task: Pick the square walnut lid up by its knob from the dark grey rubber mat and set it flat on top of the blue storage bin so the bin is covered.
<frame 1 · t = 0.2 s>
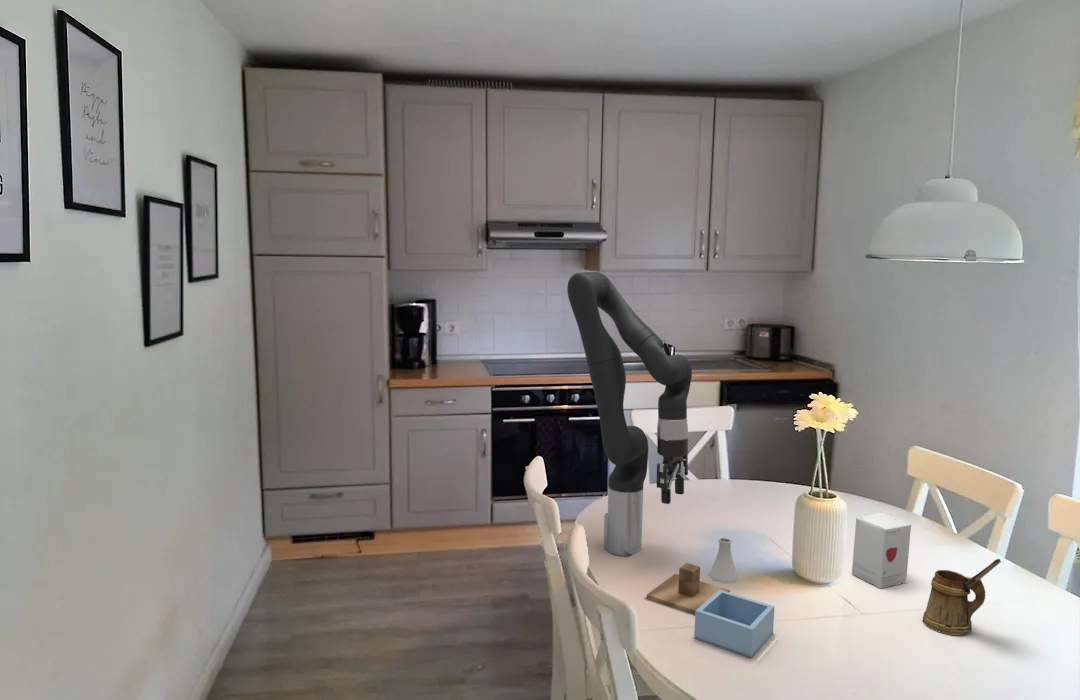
hand: (672, 498, 182), 17 cm above the table, tool pointing down, fingers open, 8 cm apart
supplement box: (878, 579, 177), on the table
walnut lid: (688, 596, 166), point 1 cm above the table, touching rubber mat
rubber mat: (688, 598, 166), on the table
flask: (723, 579, 176), on the table
wooden mug: (957, 630, 153), on the table
blue storage bin: (733, 638, 149), on the table
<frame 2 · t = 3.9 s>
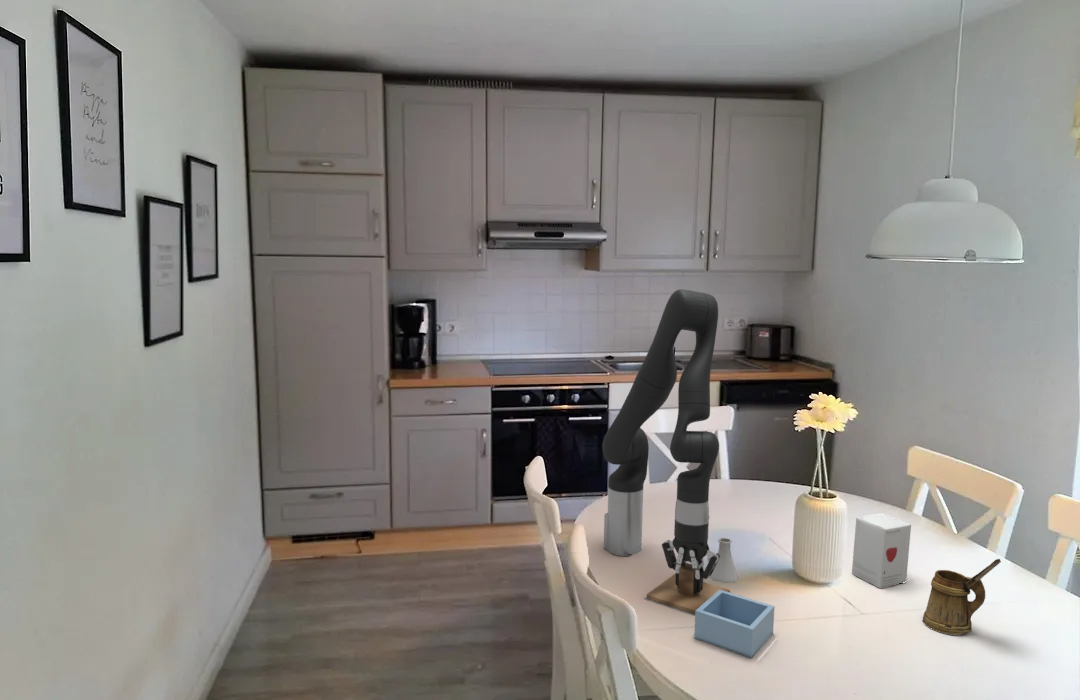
hand: (688, 589, 165), 2 cm above the table, tool pointing down, fingers closed on walnut lid, 3 cm apart
walnut lid: (688, 596, 166), point 1 cm above the table, touching gripper, rubber mat
everything else where it was.
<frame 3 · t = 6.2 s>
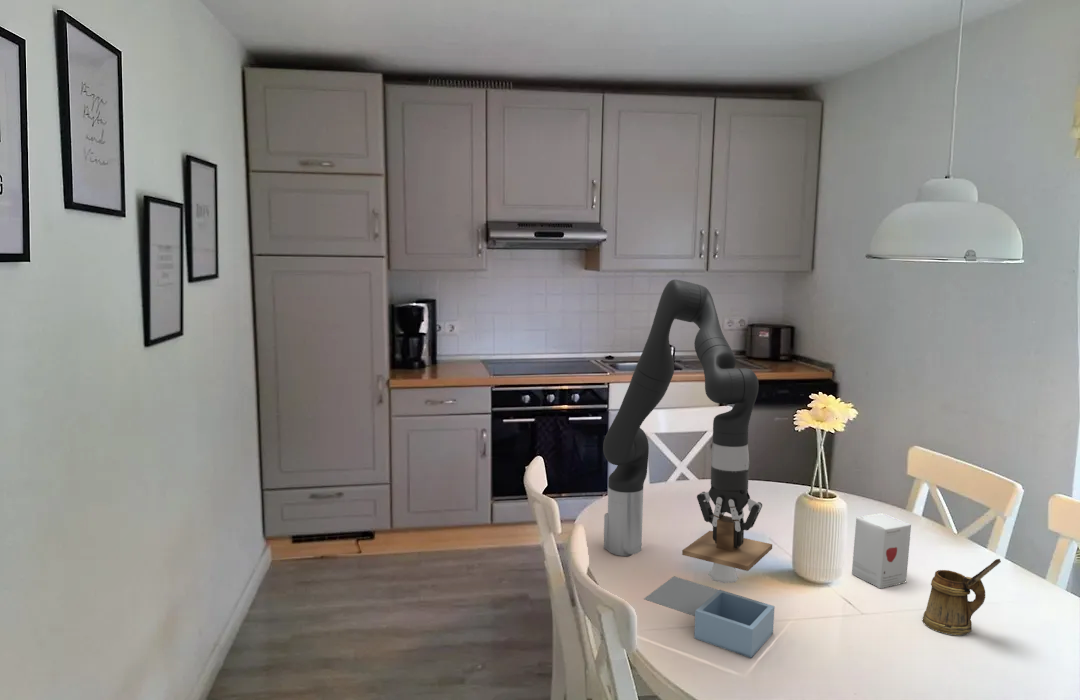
hand: (728, 544, 151), 18 cm above the table, tool pointing down, fingers closed on walnut lid, 3 cm apart
walnut lid: (727, 551, 151), point 17 cm above the table, touching gripper
everything else where it was.
when the fingers open (10 cm above the table, at t = 8.7 s): walnut lid drops 1 cm, resting on blue storage bin.
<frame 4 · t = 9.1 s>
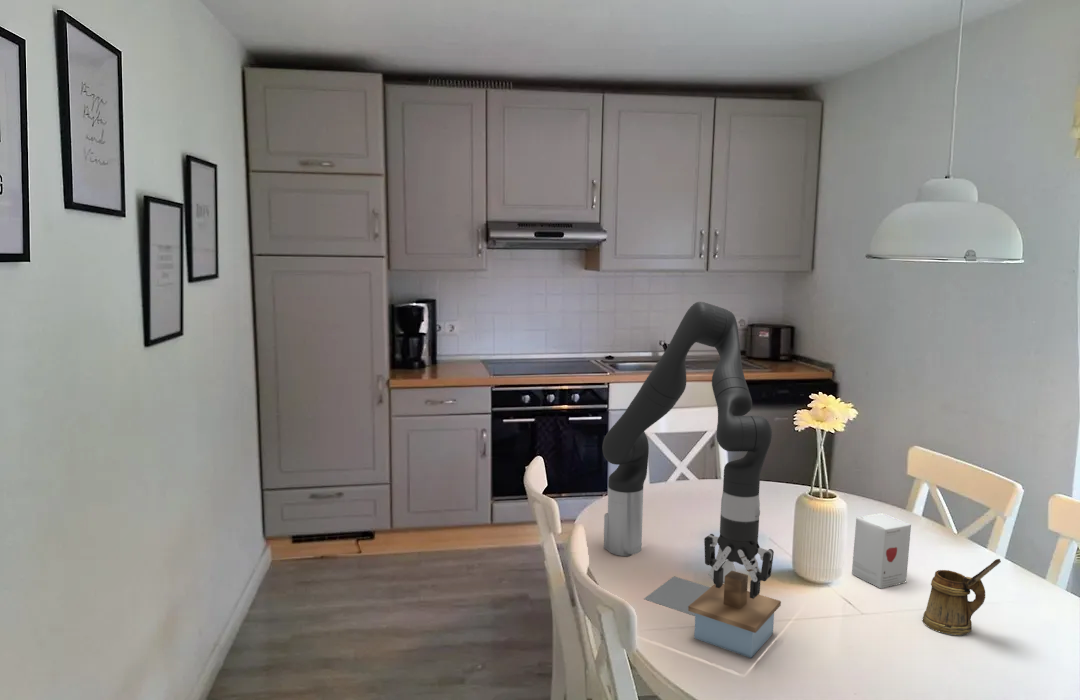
hand: (736, 591, 148), 10 cm above the table, tool pointing down, fingers open, 6 cm apart
walnut lid: (734, 608, 148), point 6 cm above the table, touching blue storage bin
everything else where it was.
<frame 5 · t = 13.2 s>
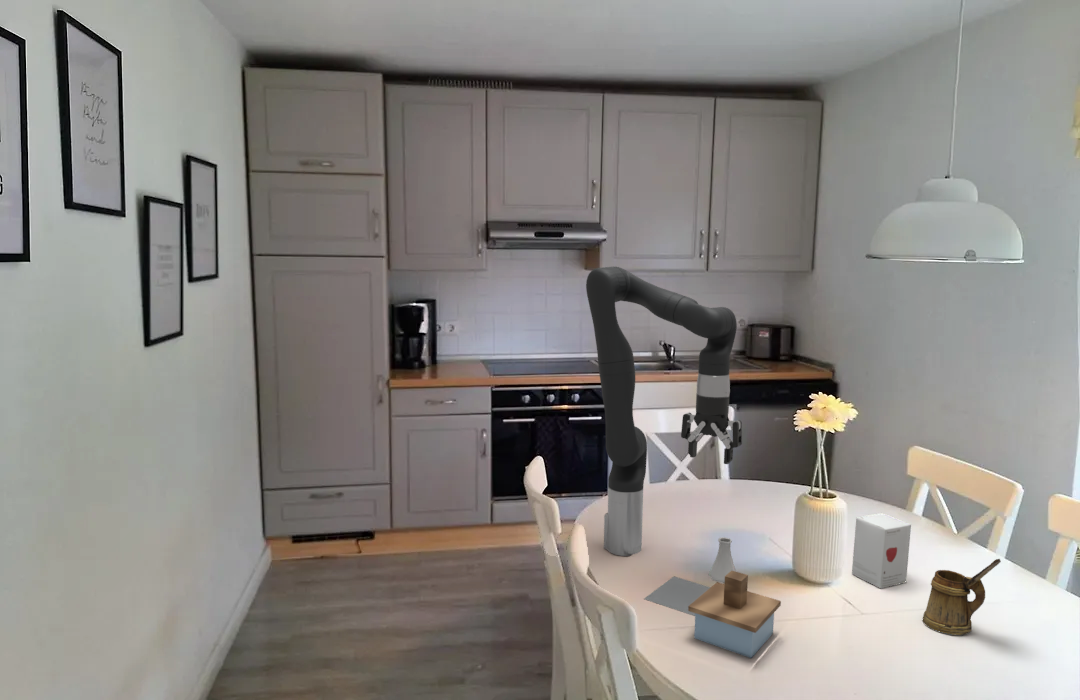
hand: (710, 460, 171), 30 cm above the table, tool pointing down, fingers open, 8 cm apart
nothing on the table moved.
at the end: walnut lid 0.1 cm off-centre on the blue storage bin, point 6.5 cm above the blue storage bin's base; walnut lid tilted 0°; the gripper is holding nothing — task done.
